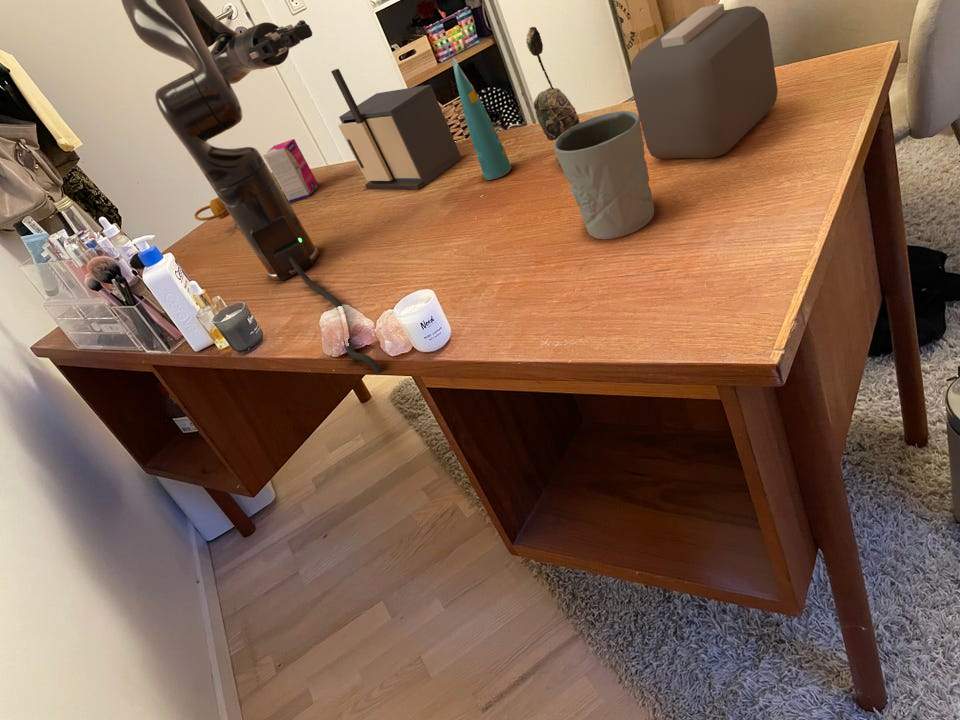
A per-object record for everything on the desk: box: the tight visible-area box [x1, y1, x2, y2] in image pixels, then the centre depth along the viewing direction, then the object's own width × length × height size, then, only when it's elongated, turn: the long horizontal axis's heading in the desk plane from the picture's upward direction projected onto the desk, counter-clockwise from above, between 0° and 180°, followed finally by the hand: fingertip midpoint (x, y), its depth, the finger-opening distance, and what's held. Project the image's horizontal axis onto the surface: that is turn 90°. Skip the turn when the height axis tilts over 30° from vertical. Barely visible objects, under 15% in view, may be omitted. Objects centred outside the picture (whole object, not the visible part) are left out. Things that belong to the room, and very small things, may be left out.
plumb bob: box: [193, 171, 283, 222], centre depth 155 cm, size 9×9×25 cm
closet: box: [338, 84, 463, 191], centre depth 130 cm, size 12×18×14 cm, turn 44°
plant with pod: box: [525, 26, 581, 168], centre depth 102 cm, size 8×11×20 cm
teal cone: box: [452, 56, 512, 181], centre depth 111 cm, size 7×5×19 cm, turn 13°
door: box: [330, 68, 393, 182], centre depth 129 cm, size 1×9×22 cm, turn 44°
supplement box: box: [262, 138, 319, 204], centre depth 150 cm, size 6×6×12 cm
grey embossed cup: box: [552, 110, 655, 240], centre depth 82 cm, size 10×10×12 cm
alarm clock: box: [629, 3, 779, 160], centre depth 89 cm, size 16×11×16 cm
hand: (301, 33), depth 120 cm, fingers closed
